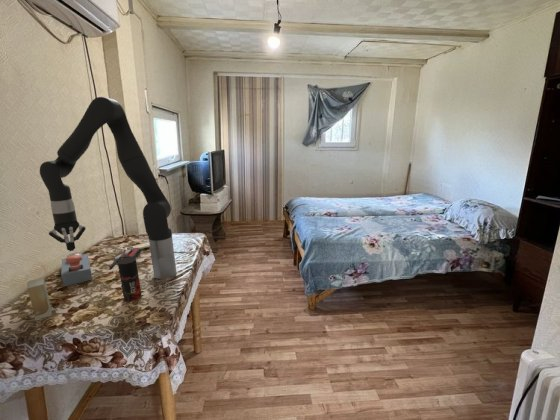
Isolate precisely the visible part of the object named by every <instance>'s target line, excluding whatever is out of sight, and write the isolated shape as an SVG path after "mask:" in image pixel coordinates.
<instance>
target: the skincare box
mask: <svg viewBox="0 0 560 420" xmlns="http://www.w3.org/2000/svg"><path fill="white" fill-rule="evenodd" d="M47 289H48V288H47V285H46V281H45V277H40V278H36V279H32V280H28V281H27V291H28V295H29V299H30V303H31V307H32V310H33V314H34V318H35V321H38V320H42V319H45V318H48V317H51V316H52V306H51V301H50V298H49V297H50V296H49V293H48V290H47Z"/></svg>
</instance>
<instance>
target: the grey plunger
mask: <svg viewBox="0 0 560 420" xmlns="http://www.w3.org/2000/svg"><path fill="white" fill-rule="evenodd" d="M72 255H81V256H82V255H83V254H82V252H73V253H70V254H68V255H66V258H67V257H69V256H72Z"/></svg>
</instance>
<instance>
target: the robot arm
mask: <svg viewBox="0 0 560 420" xmlns="http://www.w3.org/2000/svg"><path fill="white" fill-rule="evenodd" d="M105 125H107V126H108V128H109V130H110V131H111V133H112V136H113V138H114V142H115V145H116V153H117V158H118V160H119V163H120V165H121V167H122V169H123V171H124V172H125V174H126V176H127V177H128V178H129V179H130V180H131V182H132V183H133V184H135V186H137V188H138V189H139V190H140V191H141V193H142V195H143V196H144V199H145V200H146V204H145V205H144V207H143V210H142V218H143V224H144V228H145V229H144V230H145V232H146V234H147V236H148V242H149V251H150V258H151V264H152V272H153V277H154V278H155V279H158V280H161V281H162V280H165V279H169V278H173V277H176V274H177V267H176V266H177V265H176V258H175V248H174V240H173V231H172V229H171V228H169V222H168V217H169V216H170V215H171V211H172V208H171V207H172V206H171V204H170V202H169V201H168V199H167V197H166V196H165V194H164V193H163V191H162V189H161V187H160V186H159V184H158V182H157V180H156V177H155V176H154V174H153V170H151V167H150V165H149V162H148V161H147V158H146V157H145V154H144V153H143V150H142V147H140V144H139V142H138V141H137V139H136V137H135V135H134V133H133V130H132V129H131V126H130V122H129V120H128V118H127V115H126V113H125V110H124V108H123V106H122V104H121V103H120V102H119V101H117V100H116V99H114V98H109V97H105V96H98V97H95V98H94V99H93V100H92V101H91V102H90V103H89V105H88V107H87V109H86V111H85V113H84V114H83V116H82V118H81V119H80V120H79V122H78V123H77V125H76V127H75V129H74V130H73V131H72V132H71V134H70V135H69V136H68V138H67V139H66V140H65V141H64V142H63V143H62V144H61V145H60V146H59V148H58V150H57V152H56V154H57V158H56V159H54V160H48V161H43V162H42V163H40V167H39V176H40V177H41V179H42V181H43V183H44V186H45V187H46V189H47V191H48V195H49V199H50V200H49V201H50V209H51V213H52V217H53V223H54V226H53V229H52V230H49V232H48V235H49V236H50V237H52V238H53V239H55V240H56V241H58V242H59V243H61V244H63V243H65V246H66V250H67V251H69V252H74V251H75V250H76V244H75V243H76V242H75V241H78V240H80V238H81V236H82V235H83V234H84V232H85V231H86V228H87V227H86V226H85V225H82V224H80V222H79V221H78V219H77V214H76V213H77V212H76V208H75V207H76V206H75V202H74V201H73V197H72V192H71V188H70V186H69V185H68V184H64V182H63V179H62V178H65V177H68V175H70V174H71V173H72V172H73V170H74V168H75V166H76V164H77V162H78V161H79V160H80V158H81V157H83V155H84V154H85V153H86V152H87V150H88V148H89V147H90V146H91V145H90V144H91V142H92V141H93V140H92V139H93V138H94V136H95V134H96V133H97V132H98V131H99V129H101V128H102V127H103V126H105ZM76 231H78V232H76ZM58 233H59V234H60V235H62V236H63V237H61V236H60V235H58ZM75 233H77V234H76V235H74V234H75ZM68 235H69V236H68ZM69 237H70V238H69Z"/></svg>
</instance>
